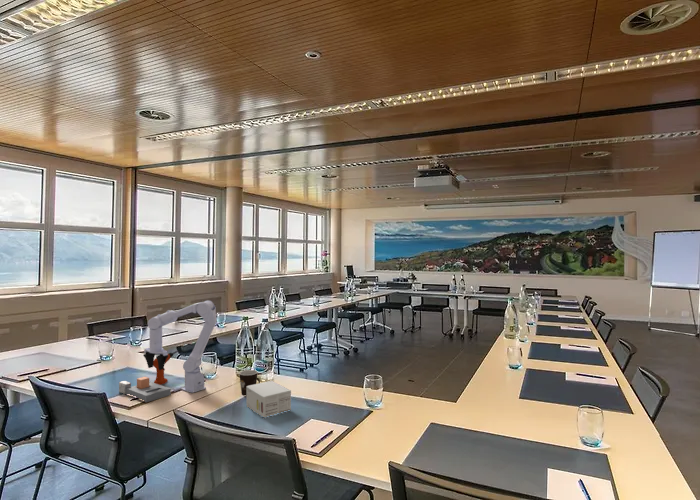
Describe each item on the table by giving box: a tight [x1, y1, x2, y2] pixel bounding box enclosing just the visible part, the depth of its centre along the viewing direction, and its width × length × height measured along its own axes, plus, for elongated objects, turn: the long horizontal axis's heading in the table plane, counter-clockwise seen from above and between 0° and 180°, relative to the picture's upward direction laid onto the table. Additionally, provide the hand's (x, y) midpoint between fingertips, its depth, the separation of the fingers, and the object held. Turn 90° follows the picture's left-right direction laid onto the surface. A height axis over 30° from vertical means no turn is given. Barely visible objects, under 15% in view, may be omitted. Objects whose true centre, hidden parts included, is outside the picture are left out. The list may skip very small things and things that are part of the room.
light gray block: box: [118, 380, 132, 395], centre depth 199 cm, size 6×3×5 cm, turn 55°
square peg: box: [136, 376, 150, 389], centre depth 199 cm, size 4×4×7 cm
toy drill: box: [153, 350, 179, 386], centre depth 218 cm, size 5×19×15 cm, turn 166°
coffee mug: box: [238, 369, 261, 396], centre depth 197 cm, size 12×9×10 cm
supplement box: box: [245, 380, 292, 417], centre depth 179 cm, size 17×13×9 cm
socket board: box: [126, 381, 172, 403], centre depth 196 cm, size 18×12×3 cm, turn 55°
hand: (155, 368), depth 203 cm, fingers open, 7 cm apart
